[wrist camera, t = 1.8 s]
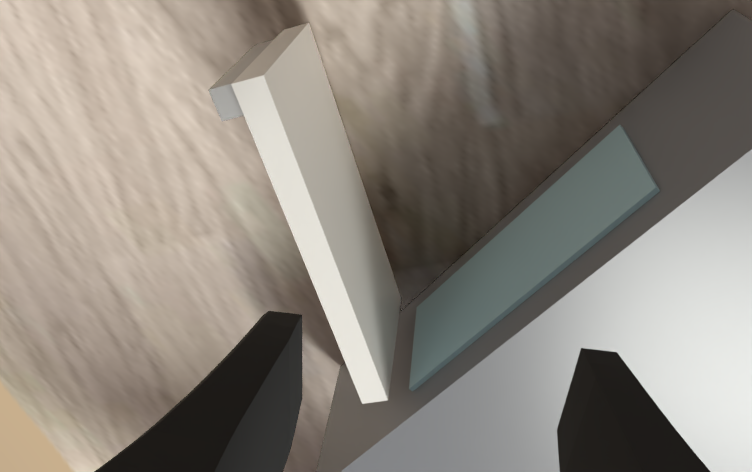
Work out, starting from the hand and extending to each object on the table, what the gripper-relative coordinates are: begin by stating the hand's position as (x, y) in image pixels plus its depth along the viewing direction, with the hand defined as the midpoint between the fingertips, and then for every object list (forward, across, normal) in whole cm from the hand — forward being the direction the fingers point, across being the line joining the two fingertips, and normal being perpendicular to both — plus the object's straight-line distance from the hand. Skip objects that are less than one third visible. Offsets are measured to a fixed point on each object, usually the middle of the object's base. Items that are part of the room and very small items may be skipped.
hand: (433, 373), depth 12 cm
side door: (+10, +3, +1) cm, 11 cm away
